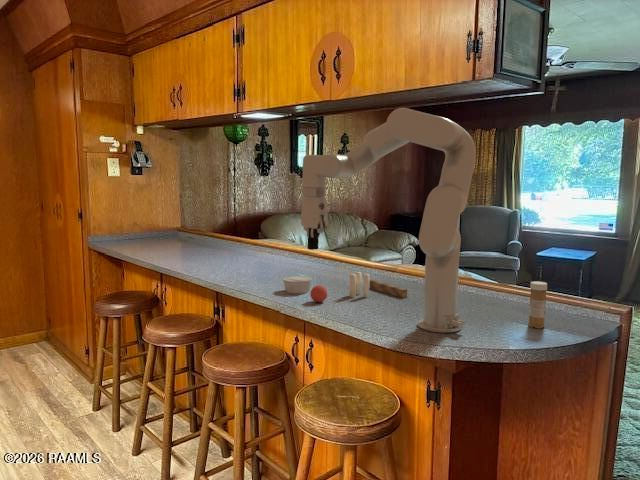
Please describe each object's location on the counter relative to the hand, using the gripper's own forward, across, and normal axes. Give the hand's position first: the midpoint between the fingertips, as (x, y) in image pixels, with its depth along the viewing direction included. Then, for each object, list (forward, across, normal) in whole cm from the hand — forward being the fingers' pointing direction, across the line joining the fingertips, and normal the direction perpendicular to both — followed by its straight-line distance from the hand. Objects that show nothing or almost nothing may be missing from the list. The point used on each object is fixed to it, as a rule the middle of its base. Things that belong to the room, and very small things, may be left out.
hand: (312, 249), depth 160 cm
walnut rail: (+20, +8, -39) cm, 45 cm away
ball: (+18, +8, -8) cm, 21 cm away
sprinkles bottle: (+20, -51, -48) cm, 73 cm away
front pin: (+21, +8, -23) cm, 32 cm away
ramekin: (+21, +27, -10) cm, 36 cm away
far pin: (+21, +10, -27) cm, 36 cm away
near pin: (+21, +5, -27) cm, 34 cm away
